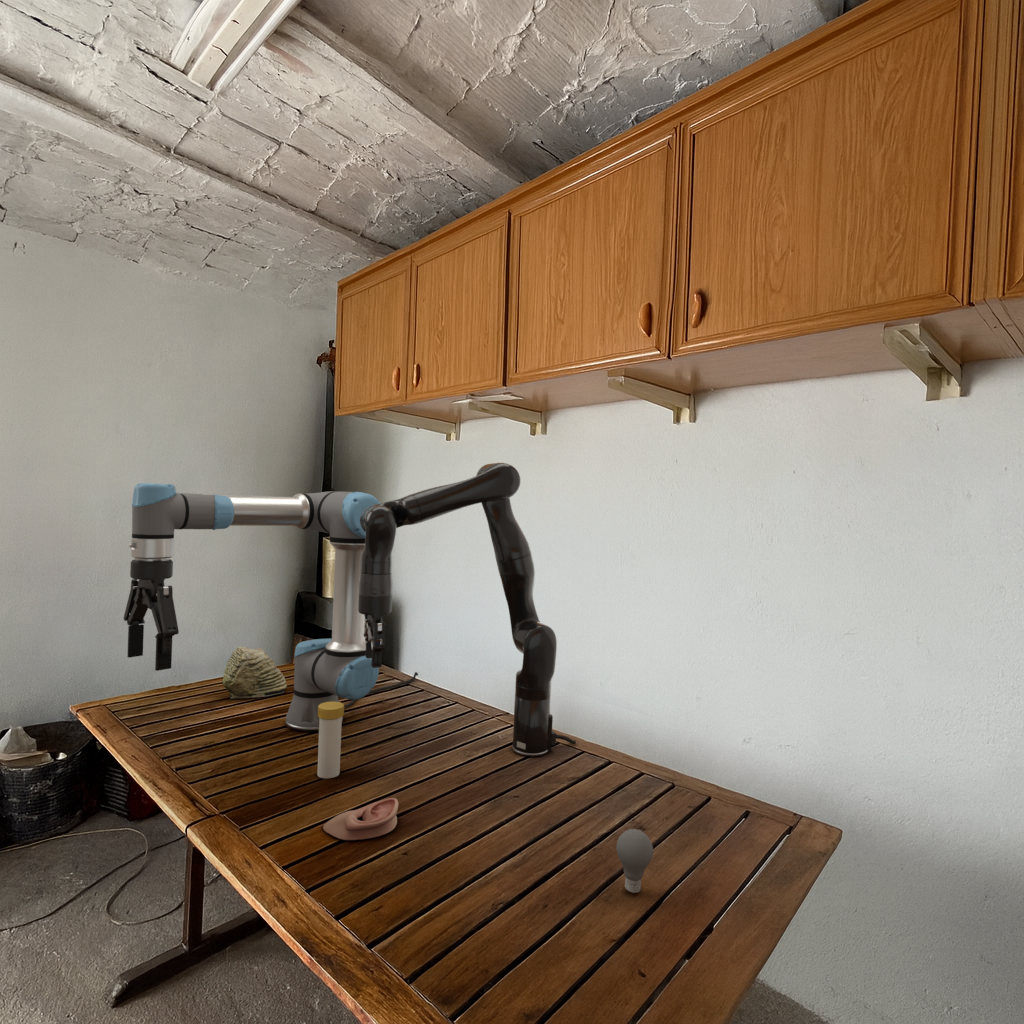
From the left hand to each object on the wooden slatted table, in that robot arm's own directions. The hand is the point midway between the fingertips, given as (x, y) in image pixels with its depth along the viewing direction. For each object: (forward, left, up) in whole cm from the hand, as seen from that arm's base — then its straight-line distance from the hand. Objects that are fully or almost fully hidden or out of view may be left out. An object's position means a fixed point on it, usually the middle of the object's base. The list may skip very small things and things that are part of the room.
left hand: (148, 662), depth 129 cm
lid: (-33, +17, -13) cm, 39 cm away
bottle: (-33, +17, -28) cm, 46 cm away
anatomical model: (-23, +41, -28) cm, 55 cm away
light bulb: (-41, +90, -28) cm, 103 cm away
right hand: (-39, +23, -2) cm, 45 cm away
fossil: (-50, -47, -28) cm, 74 cm away
